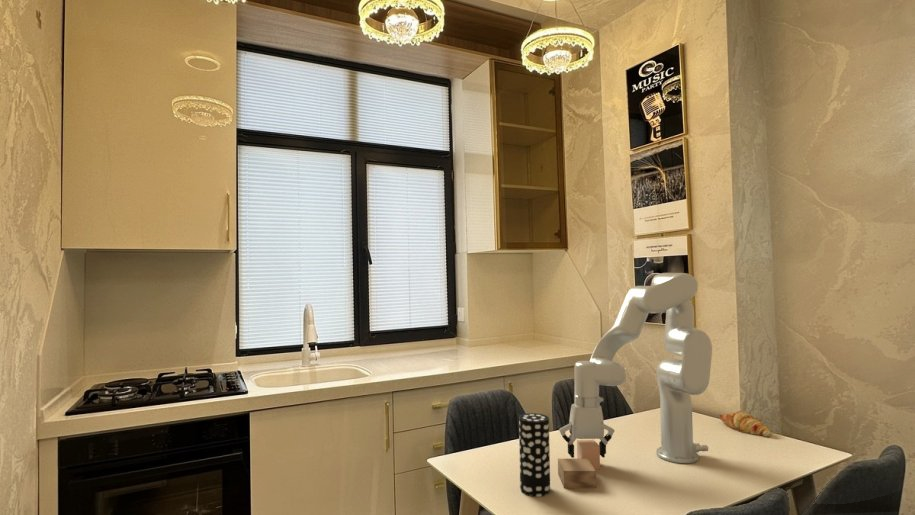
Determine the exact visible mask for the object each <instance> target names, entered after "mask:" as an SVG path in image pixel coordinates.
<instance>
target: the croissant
mask: <svg viewBox="0 0 915 515" xmlns="http://www.w3.org/2000/svg"><path fill="white" fill-rule="evenodd" d="M719 419H720V421H722V422H723V424H724V425H725V426H726V427H728V428H730V429H732V430H734V431H738V432H741V433H744V434H751V435H756V436H759V435H760V436H762V437H770V436H772V432H771V430H770V428H769V426H767V425H765V424H764V423H763V422H762V420H760V419H758V418H755V417H754V416H753V415H752V414H750V413H748V412H745V411H741V410H739V411H736V412H731V413H727V414H726V413H725V414H719Z"/></svg>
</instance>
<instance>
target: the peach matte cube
mask: <svg viewBox="0 0 915 515" xmlns="http://www.w3.org/2000/svg"><path fill="white" fill-rule="evenodd" d="M576 459H589V461H590V463H591V464H592V466H593V467H594V469H595V470H597V469H599V470H600V469H601V455H600V446H599V443H598V442H597V441H596V440H595V439H576Z"/></svg>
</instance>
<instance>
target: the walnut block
mask: <svg viewBox="0 0 915 515" xmlns="http://www.w3.org/2000/svg"><path fill="white" fill-rule="evenodd" d="M596 471H597V469H594V467H593V466H592V464H591V463H590V461H589V459H577V458H557V475H558V478H559V480H560V482H561V485H562V487H563V488H564V489H596V488H597V472H596Z"/></svg>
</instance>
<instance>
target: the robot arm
mask: <svg viewBox="0 0 915 515" xmlns="http://www.w3.org/2000/svg"><path fill="white" fill-rule="evenodd" d="M698 289H699V283H698V281H697V279H696V278H695V276H693V275H692V274H689V273H685V272H662V273H657V274H656V275H654V276H653V278H652V279H651V285H635V286H632V287H631V288H630V289H628V291H627V292H626V295H625V297H624V299H623V302H622V304H621V306H620V308H619V311H618V314H617V316H616V317H615V320H614V322H613V325H612V327H611V328H610V329H608V330H607V332H606V333H605V334H604V335H603V336H602V337H601V338H600V340H599V341H597V344H596V345H595V348H594V349H593V352H592V354H591V356H590V359H589V360H579V361H576V362H575V363H574V368H573V369H574V370H573V371H574V374H573V375H574V376H573V377H574V381H573V382H574V395H573V396H574V399H573V400H574V401H573V402H574V403H572V404H571V406H570V412H569V421H568V422H569V423H568V424H566V425H564V426H562V427H560V428H559V429H558V431H559V433H560V435H561V437H562V438H563V440H565V442H567V453H568V455H569V456H570V457H571V459H575V445H574V442H575V441H577V440H595V439H597V440H598V439H599V440H600V441H599V442H598V445H599V446H600V457H601V458H606V456H605V455H606V454H607V445H608V442H609V441H611V440H612V437H613V435H614V433H615V429H614V428H613V427H611V426H609V425H607V424H606V423H604V414H603V409H602V405H600V404H601V403H602V402H603V403H604V397H601V396H600V386H609V387H617V386H621V385H622V384H624V382H625V381H626V379H627V372H626V369H625V367H624V366H623V365H622V364H620V363H619V362H616V361H614V360H613V359H614V357H615V356H616V353H617V352H619V350H620V349H621V348H622V347H623V346H625V345H627V344H629V343H631V342H633V341H635V340H637V339H638V338H639V337H640V335H641V333H642V331H643V330H642V329H643V327H644V325H645V323H646V320H647V319H648V316H649V314H660V313H662V312H666V313H665V324H664V334H663V345H664V348H665V351H667V352H668V353H670V354H673V355H674V356H675V355H676V356H679V357H682V360H681V359H678V358H672V357H668V358H665V359H662V360H661V361H660V362H659V363H658V365H657V368H656V372H655V374H656V380H657V386H658V391H659V401H660V402H659V403H660V404H659V405H660V407H659V409H660V410H659V412H660V413H659V414H660V415H659V416H660V445H661V446H659V447H657V448H656V452H655V453H656V455H657V456H658V457H659V458H661V459H663V460H665V461H668V462H672V463H675V464H676V463H678V464H692V463H696V462H698V461H699V460H700V459H699V453H700V452H708V451H709V446H708V445H707V444H700V443H699V442H696V443H695V442H694V433H693V426H694V425H693V402H692V398H691V396H698V395H699V396H700V395H702V394H704V392H705V391H706V390H707V389H708V386H709V383H710V377H711V368H712V359H713V358H712V357H713V356H712V355H713V345H712V341H711V339H710V336H709V335H708V334H707V332H705V331H703V330H701V329H698V328H695V309H694V305H693V303H692V301H691V299H692V298H693V297H695V296H696V294H697V293H698ZM605 430H606V431H607V433H606V434H605ZM567 431H568V433H569V435H567V434H566V432H567Z"/></svg>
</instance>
